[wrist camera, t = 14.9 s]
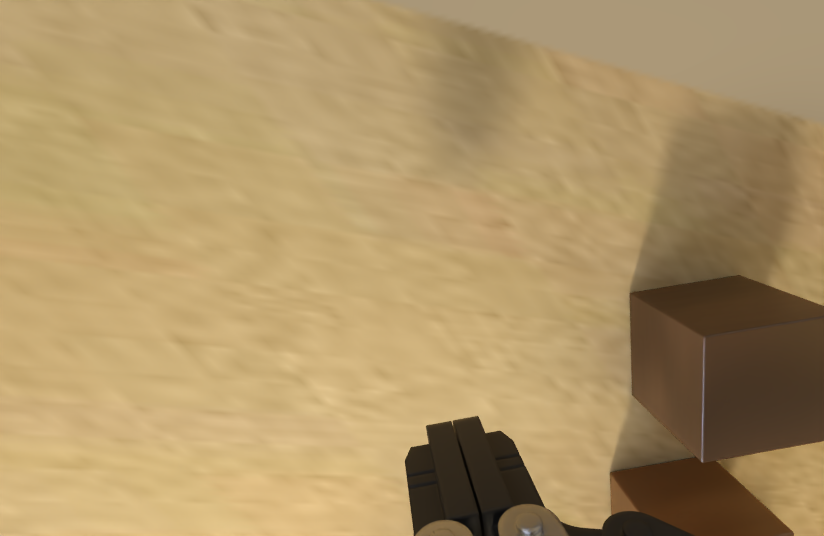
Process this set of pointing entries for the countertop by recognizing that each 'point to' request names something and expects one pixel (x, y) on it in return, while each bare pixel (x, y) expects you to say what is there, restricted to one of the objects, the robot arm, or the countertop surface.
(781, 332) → the walnut block
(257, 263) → the countertop surface
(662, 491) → the oak block
